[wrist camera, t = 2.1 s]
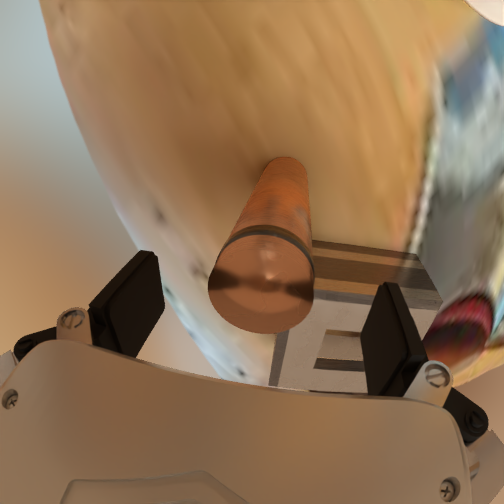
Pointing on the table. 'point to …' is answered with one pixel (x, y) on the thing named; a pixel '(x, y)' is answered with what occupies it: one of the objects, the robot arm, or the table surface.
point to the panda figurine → (489, 10)
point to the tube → (268, 255)
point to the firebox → (347, 316)
